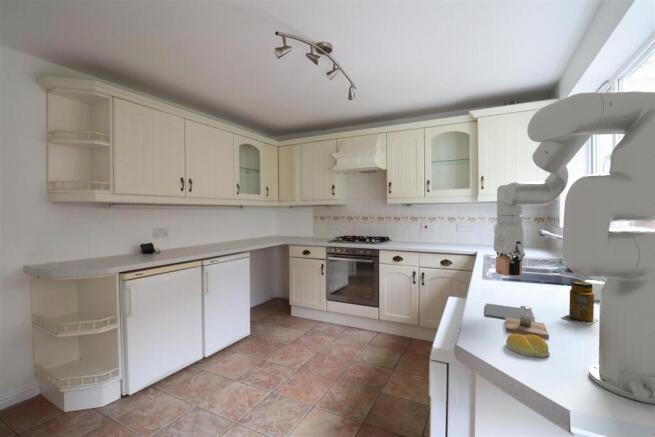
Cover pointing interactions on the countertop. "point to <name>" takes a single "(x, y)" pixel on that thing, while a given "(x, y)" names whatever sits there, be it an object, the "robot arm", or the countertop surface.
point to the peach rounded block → (505, 265)
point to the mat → (503, 312)
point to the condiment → (581, 303)
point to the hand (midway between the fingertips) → (508, 272)
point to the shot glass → (596, 288)
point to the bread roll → (528, 345)
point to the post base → (526, 328)
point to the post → (525, 316)
